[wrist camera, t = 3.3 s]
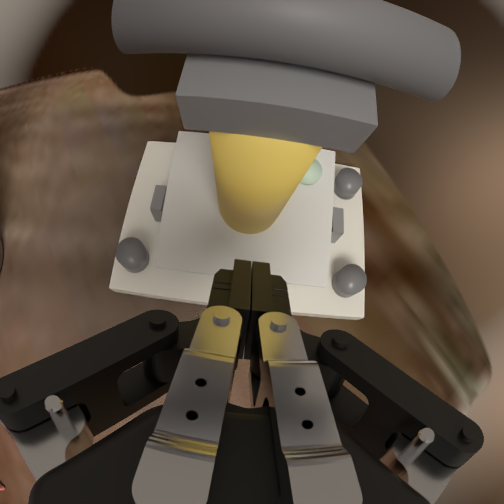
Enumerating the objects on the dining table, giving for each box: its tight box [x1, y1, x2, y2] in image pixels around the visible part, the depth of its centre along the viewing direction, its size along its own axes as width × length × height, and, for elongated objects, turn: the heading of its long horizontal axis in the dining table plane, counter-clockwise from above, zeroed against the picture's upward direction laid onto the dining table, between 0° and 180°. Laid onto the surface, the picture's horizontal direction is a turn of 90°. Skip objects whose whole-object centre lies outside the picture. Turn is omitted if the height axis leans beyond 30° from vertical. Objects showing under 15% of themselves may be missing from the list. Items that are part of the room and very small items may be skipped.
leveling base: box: [109, 141, 367, 320], centre depth 29 cm, size 23×16×4 cm
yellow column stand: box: [112, 0, 461, 287], centre depth 16 cm, size 14×12×22 cm
